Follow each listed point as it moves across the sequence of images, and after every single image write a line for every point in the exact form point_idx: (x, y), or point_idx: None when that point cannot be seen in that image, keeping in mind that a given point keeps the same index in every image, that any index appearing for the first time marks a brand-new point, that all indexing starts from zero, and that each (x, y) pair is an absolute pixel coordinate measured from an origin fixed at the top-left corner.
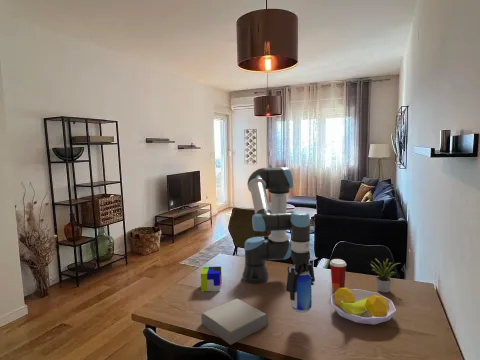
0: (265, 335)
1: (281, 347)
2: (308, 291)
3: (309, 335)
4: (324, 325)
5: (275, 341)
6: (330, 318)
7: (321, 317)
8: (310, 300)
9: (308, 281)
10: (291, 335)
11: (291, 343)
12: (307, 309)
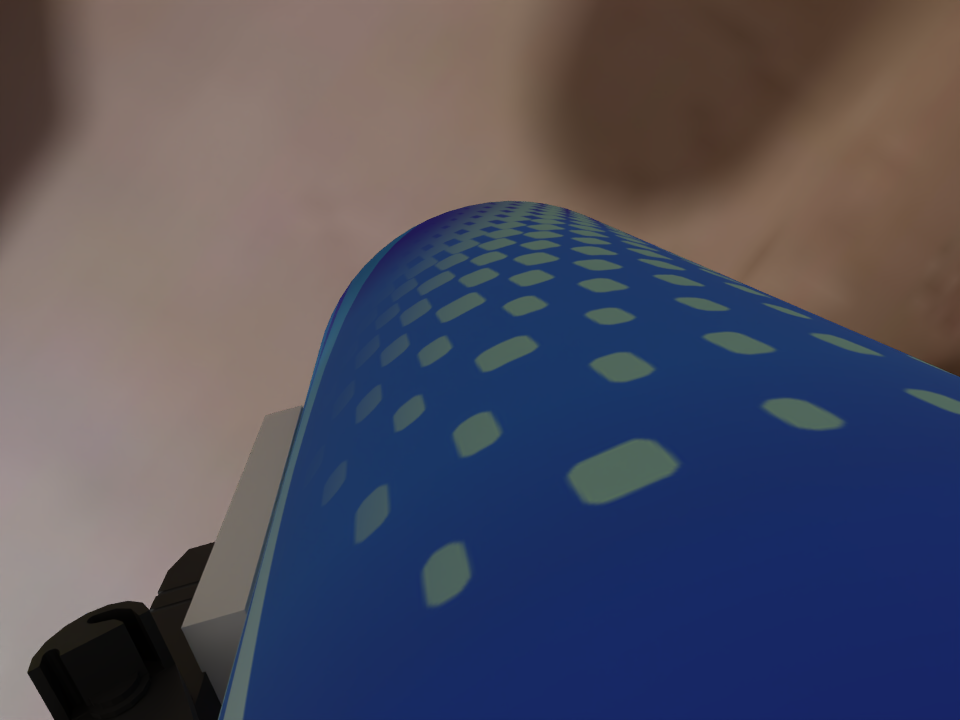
0: (917, 314)
1: (938, 35)
2: (582, 273)
3: (518, 65)
4: (194, 155)
5: (912, 168)
6: (5, 255)
7: (114, 331)
8: (430, 250)
9: (796, 437)
10: (699, 178)
11: (803, 40)
12: (513, 201)
